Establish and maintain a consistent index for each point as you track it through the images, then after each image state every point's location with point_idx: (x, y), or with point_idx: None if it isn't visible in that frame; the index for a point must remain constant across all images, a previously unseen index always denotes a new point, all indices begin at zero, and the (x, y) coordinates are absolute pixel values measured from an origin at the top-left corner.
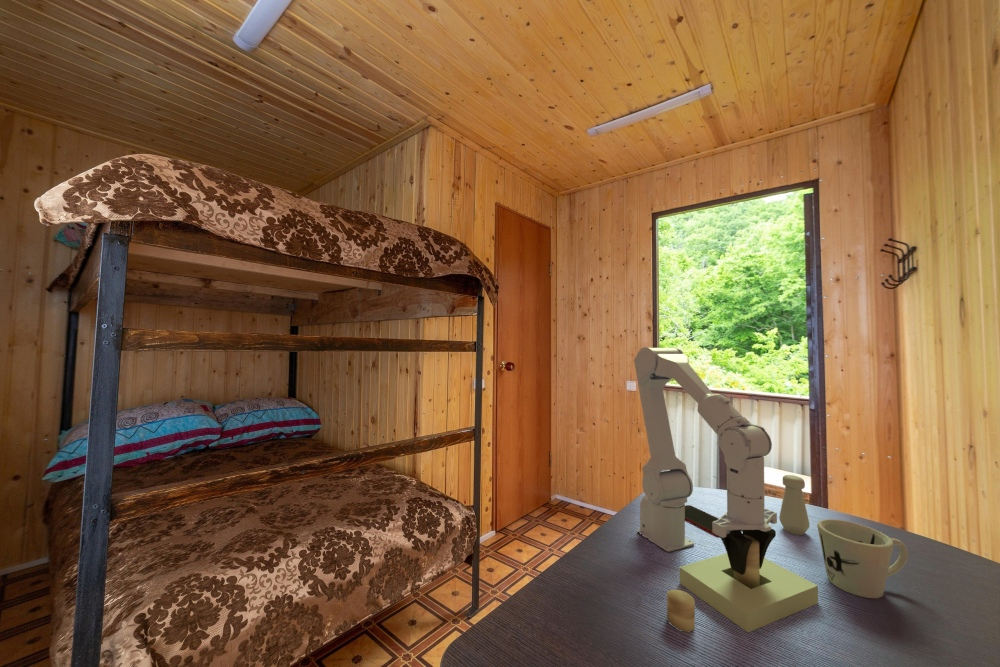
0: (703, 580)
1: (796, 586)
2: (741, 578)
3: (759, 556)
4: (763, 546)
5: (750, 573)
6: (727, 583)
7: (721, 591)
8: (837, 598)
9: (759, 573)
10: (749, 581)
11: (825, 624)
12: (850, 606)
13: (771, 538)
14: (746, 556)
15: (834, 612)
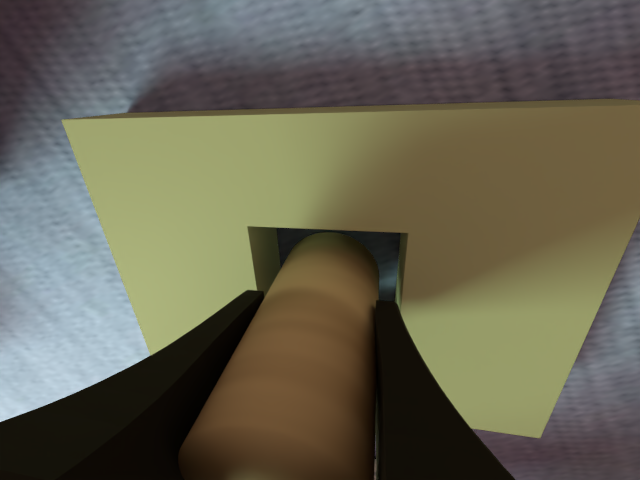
0: (556, 357)
1: (167, 157)
2: (376, 293)
3: (230, 336)
4: (178, 384)
5: (354, 287)
6: (473, 301)
7: (577, 281)
8: (31, 103)
9: (286, 272)
10: (359, 267)
11: (209, 4)
12: (16, 49)
13: (48, 424)
14: (389, 376)
15: (107, 48)
